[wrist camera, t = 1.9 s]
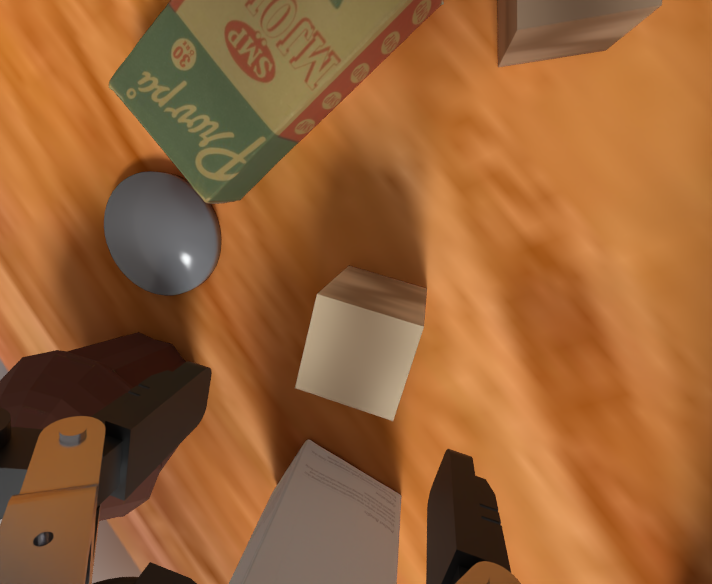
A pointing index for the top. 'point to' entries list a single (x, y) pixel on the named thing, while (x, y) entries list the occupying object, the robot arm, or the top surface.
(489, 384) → the top surface
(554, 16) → the walnut block
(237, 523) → the top surface
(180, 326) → the top surface
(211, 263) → the grey disc
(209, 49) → the carton
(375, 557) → the skincare box
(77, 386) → the muffin
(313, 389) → the oak block
